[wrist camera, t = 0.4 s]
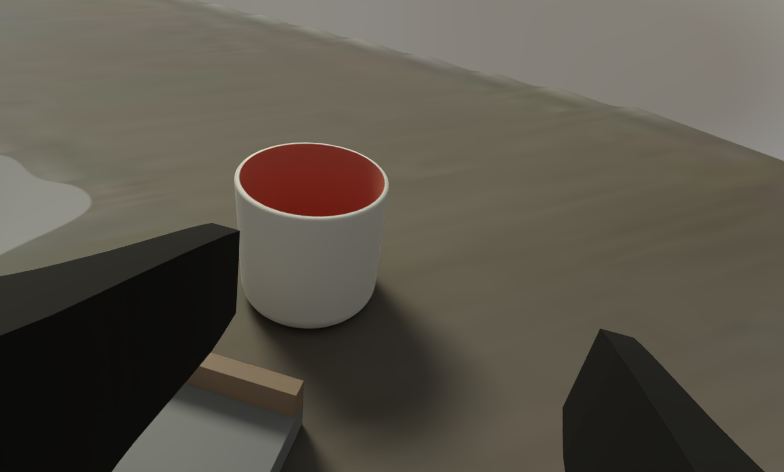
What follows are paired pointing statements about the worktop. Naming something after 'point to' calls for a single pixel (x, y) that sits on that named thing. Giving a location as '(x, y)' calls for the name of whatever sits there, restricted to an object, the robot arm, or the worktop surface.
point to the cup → (309, 232)
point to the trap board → (222, 422)
